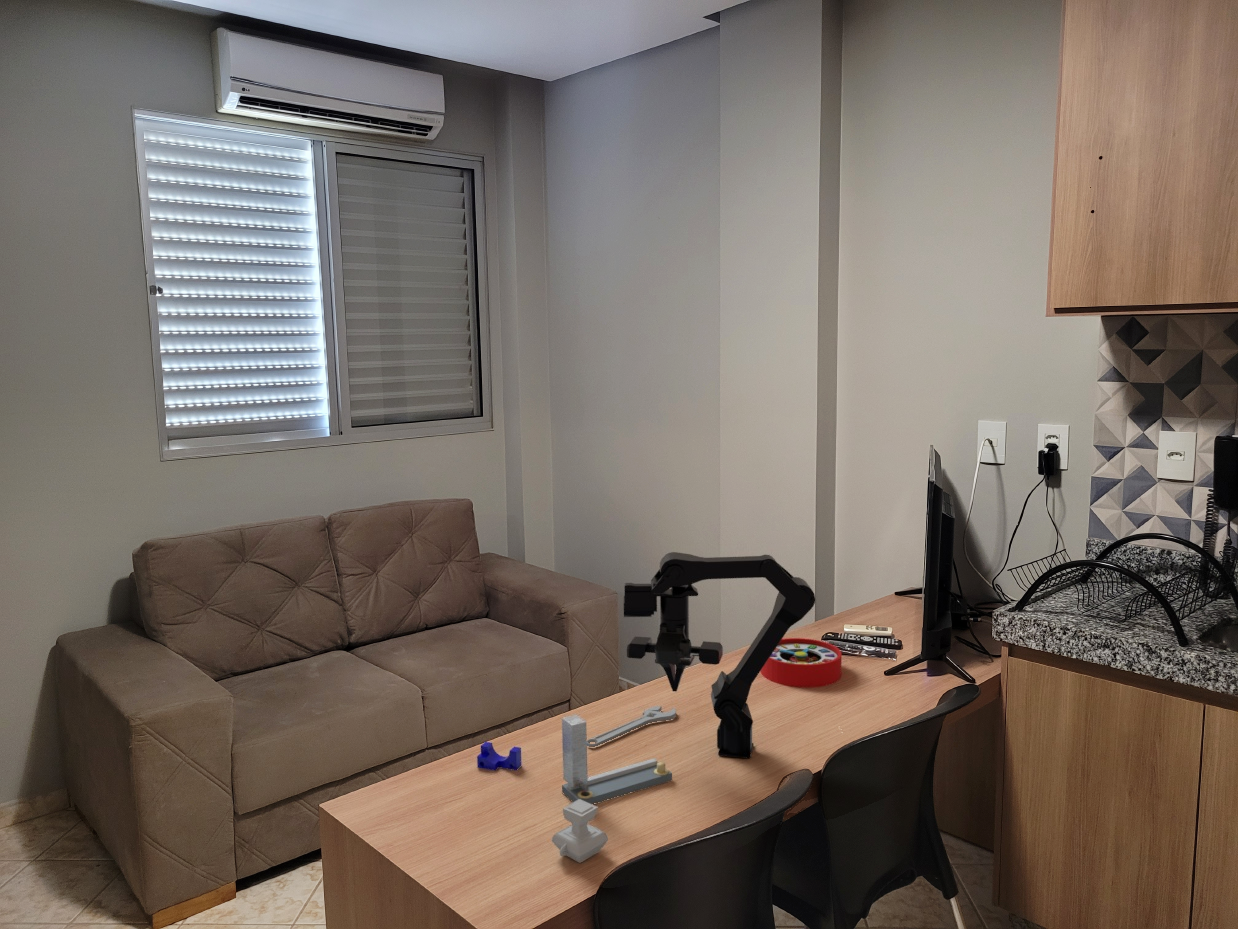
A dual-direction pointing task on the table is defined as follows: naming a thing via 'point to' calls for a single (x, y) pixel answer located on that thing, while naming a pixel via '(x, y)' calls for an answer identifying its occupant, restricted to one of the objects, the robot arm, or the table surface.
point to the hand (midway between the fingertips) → (675, 690)
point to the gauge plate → (620, 781)
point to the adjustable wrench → (634, 725)
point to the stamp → (579, 832)
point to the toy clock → (803, 663)
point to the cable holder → (498, 758)
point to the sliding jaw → (575, 751)
